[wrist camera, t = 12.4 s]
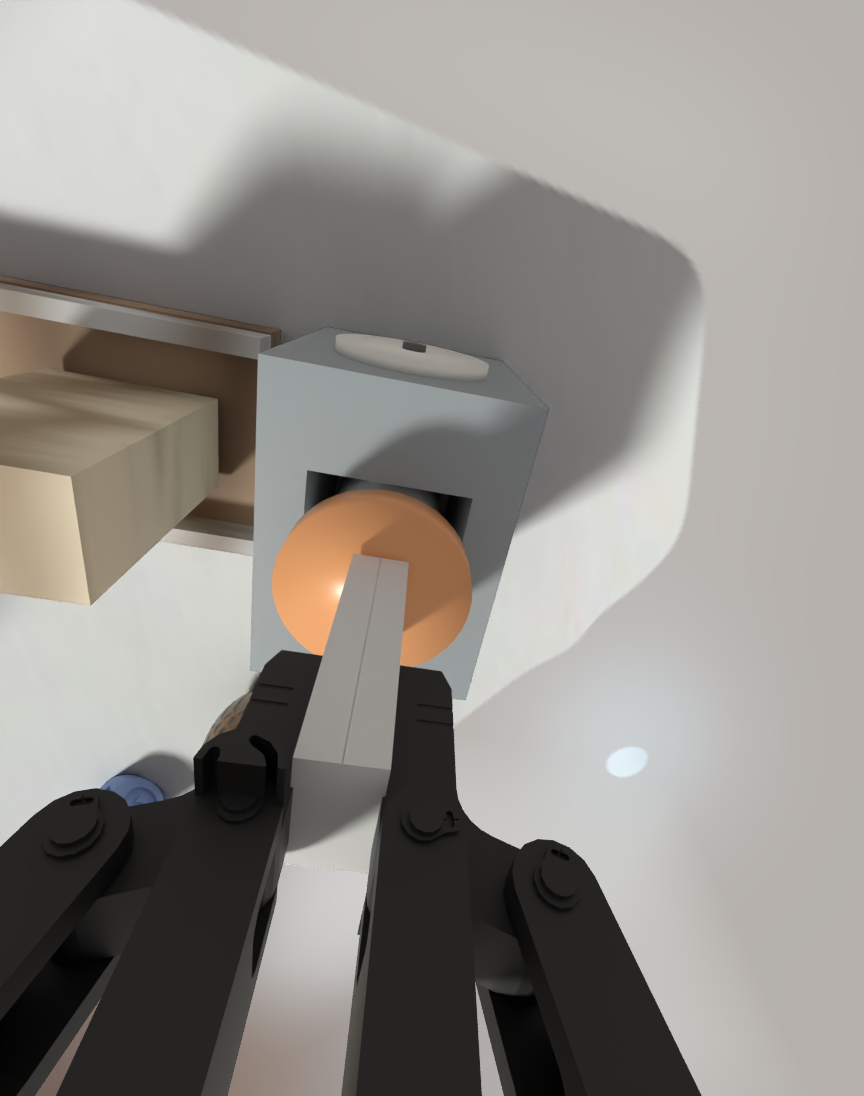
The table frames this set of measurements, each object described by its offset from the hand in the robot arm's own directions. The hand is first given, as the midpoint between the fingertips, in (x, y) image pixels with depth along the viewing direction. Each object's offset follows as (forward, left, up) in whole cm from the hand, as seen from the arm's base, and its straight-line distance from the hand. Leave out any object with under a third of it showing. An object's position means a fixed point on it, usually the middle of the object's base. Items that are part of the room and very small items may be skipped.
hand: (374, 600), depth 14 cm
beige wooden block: (-12, 0, -11) cm, 16 cm away
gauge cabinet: (0, 0, -13) cm, 13 cm away
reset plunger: (0, 0, -8) cm, 8 cm away
